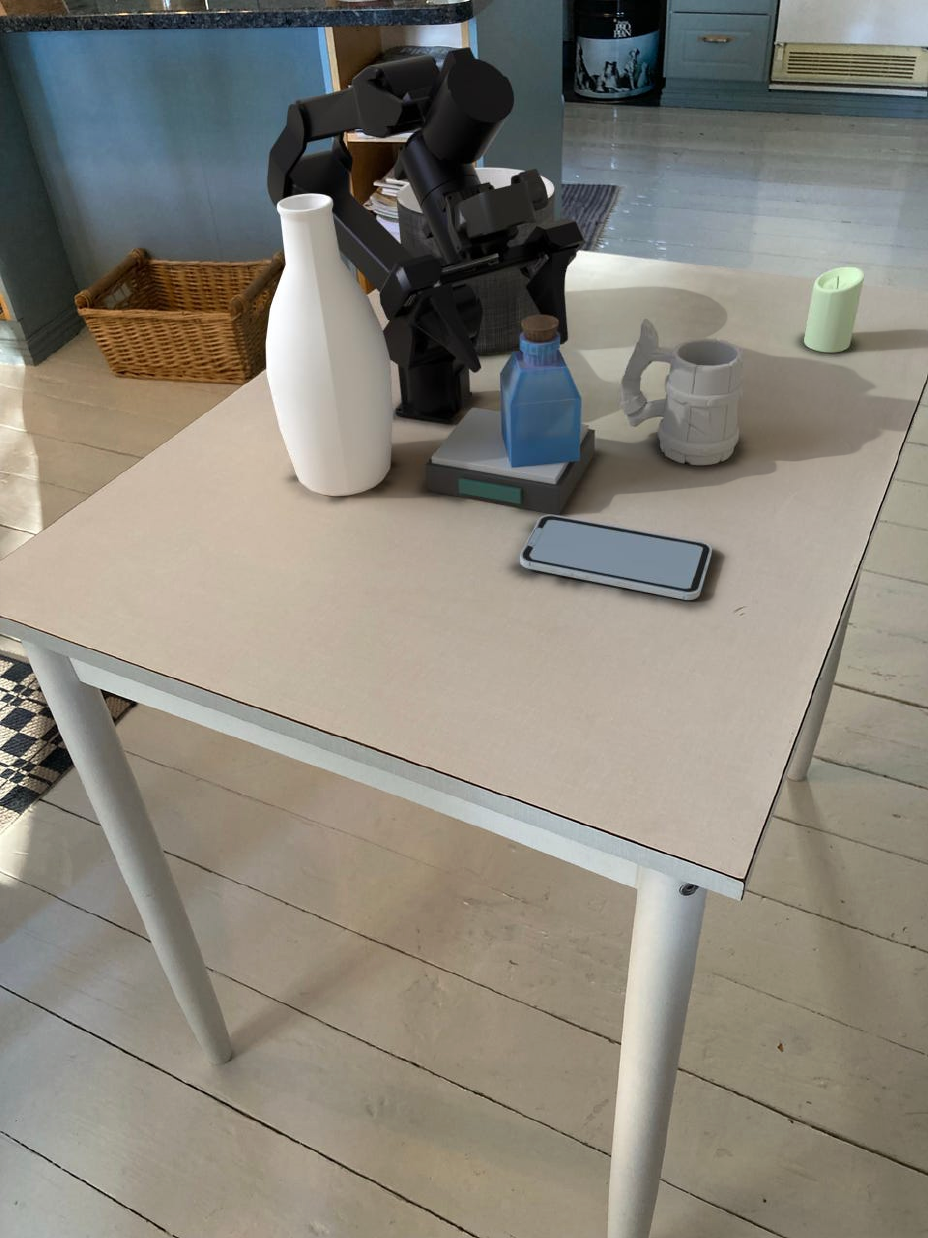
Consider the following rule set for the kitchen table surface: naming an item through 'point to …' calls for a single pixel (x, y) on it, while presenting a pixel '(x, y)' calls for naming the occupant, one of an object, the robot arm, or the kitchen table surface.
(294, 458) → the bottle
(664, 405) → the mug
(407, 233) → the planter
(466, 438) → the scale
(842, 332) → the candle
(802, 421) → the kitchen table surface
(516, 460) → the perfume bottle
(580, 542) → the smartphone
